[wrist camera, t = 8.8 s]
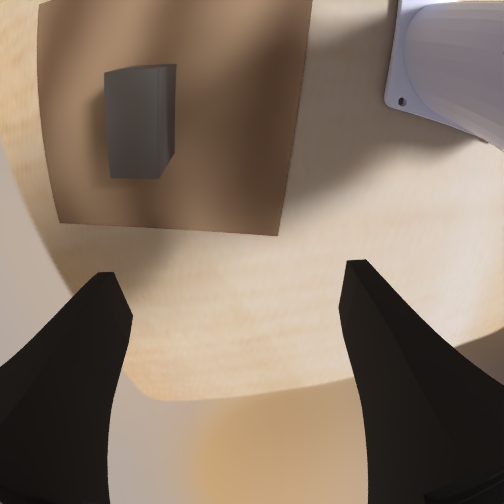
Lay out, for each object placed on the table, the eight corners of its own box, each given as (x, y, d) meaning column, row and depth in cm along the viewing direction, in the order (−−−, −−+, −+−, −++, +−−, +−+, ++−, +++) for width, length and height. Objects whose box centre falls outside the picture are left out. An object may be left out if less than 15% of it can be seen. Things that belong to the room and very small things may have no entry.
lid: (311, -12, 11) (331, -30, 8) (276, 229, 20) (282, 273, 17) (46, 4, 10) (1, 4, 7) (64, 216, 19) (36, 253, 16)
